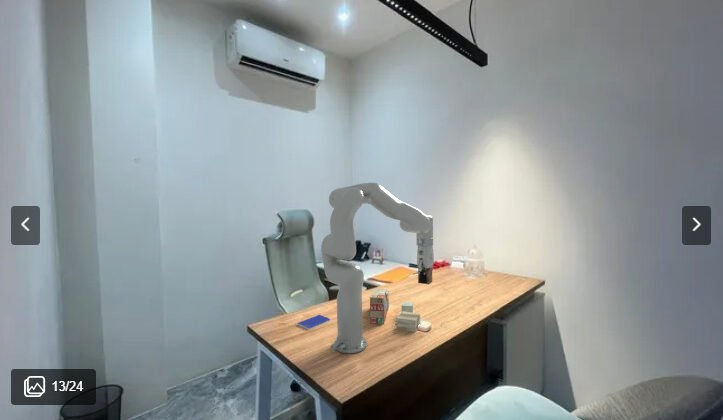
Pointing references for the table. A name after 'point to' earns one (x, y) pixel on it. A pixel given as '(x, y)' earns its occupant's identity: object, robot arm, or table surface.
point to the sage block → (407, 307)
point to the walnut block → (429, 276)
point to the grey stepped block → (408, 321)
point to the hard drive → (313, 322)
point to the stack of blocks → (379, 306)
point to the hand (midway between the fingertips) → (425, 280)
